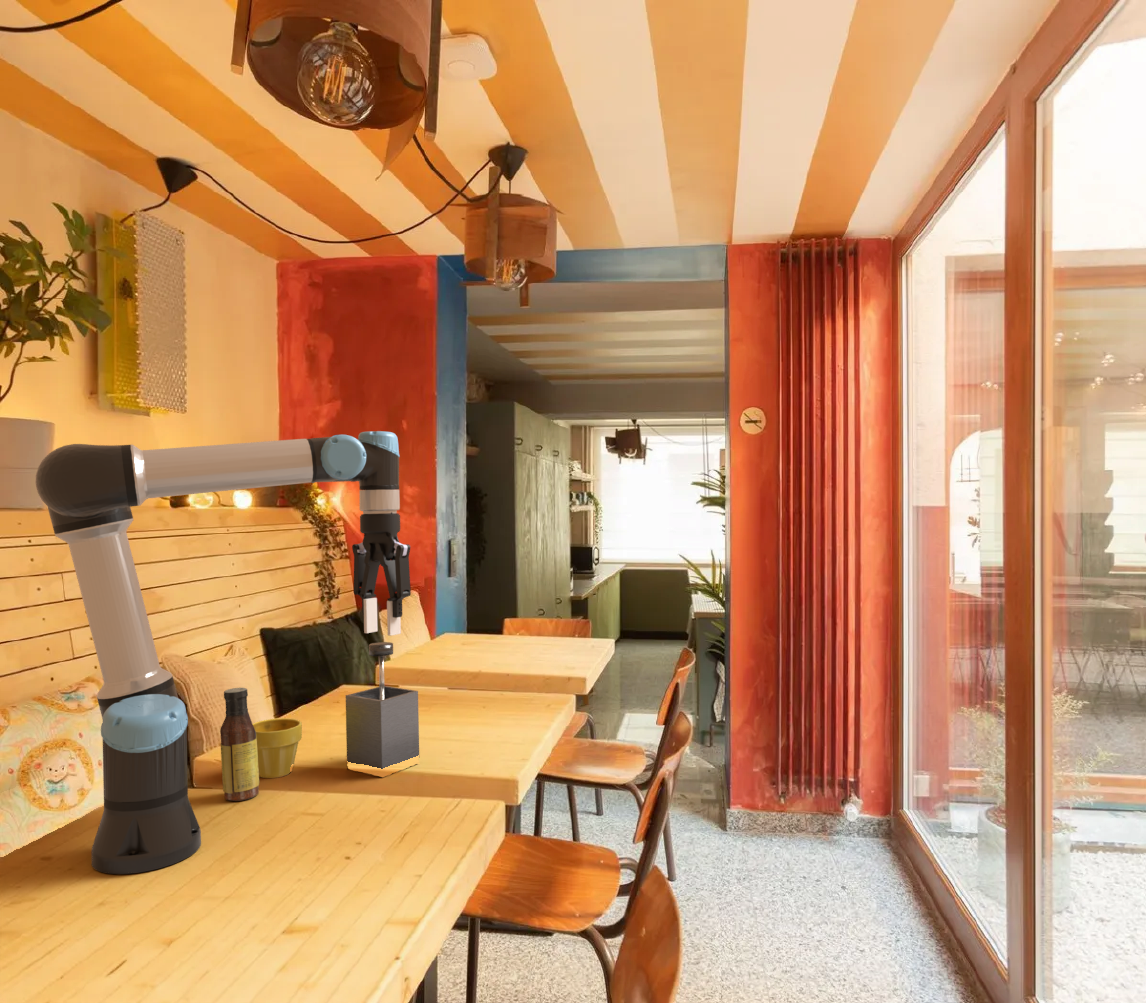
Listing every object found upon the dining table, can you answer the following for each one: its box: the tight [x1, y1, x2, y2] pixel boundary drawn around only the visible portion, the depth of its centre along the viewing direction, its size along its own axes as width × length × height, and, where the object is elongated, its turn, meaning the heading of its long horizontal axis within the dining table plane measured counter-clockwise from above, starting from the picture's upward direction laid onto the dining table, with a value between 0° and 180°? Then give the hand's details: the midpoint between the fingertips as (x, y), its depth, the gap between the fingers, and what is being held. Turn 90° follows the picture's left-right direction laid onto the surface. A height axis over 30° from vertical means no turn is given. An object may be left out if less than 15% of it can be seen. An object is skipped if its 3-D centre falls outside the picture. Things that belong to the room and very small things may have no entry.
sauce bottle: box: [219, 687, 260, 802], centre depth 154 cm, size 7×6×20 cm
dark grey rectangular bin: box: [345, 685, 420, 769], centre depth 171 cm, size 14×10×15 cm
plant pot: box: [252, 717, 303, 779], centre depth 167 cm, size 10×10×10 cm
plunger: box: [368, 641, 394, 700], centre depth 170 cm, size 8×8×13 cm
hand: (382, 633), depth 160 cm, fingers open, 6 cm apart
